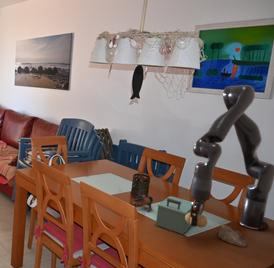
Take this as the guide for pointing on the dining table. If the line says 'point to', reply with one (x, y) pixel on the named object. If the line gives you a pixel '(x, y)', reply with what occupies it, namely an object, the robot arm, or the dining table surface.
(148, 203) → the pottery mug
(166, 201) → the bin lid
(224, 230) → the oyster shell
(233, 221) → the dining table surface
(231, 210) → the dining table surface
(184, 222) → the bin
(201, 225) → the potato
